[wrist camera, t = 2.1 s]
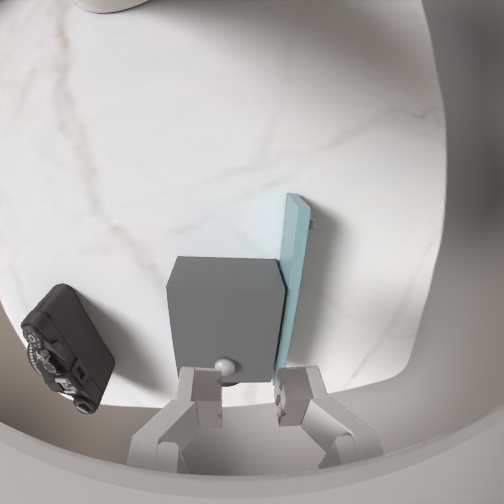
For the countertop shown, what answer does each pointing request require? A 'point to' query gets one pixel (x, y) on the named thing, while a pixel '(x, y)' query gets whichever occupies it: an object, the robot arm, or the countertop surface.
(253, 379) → the camera housing
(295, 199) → the side door
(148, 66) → the countertop surface
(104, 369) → the camera
